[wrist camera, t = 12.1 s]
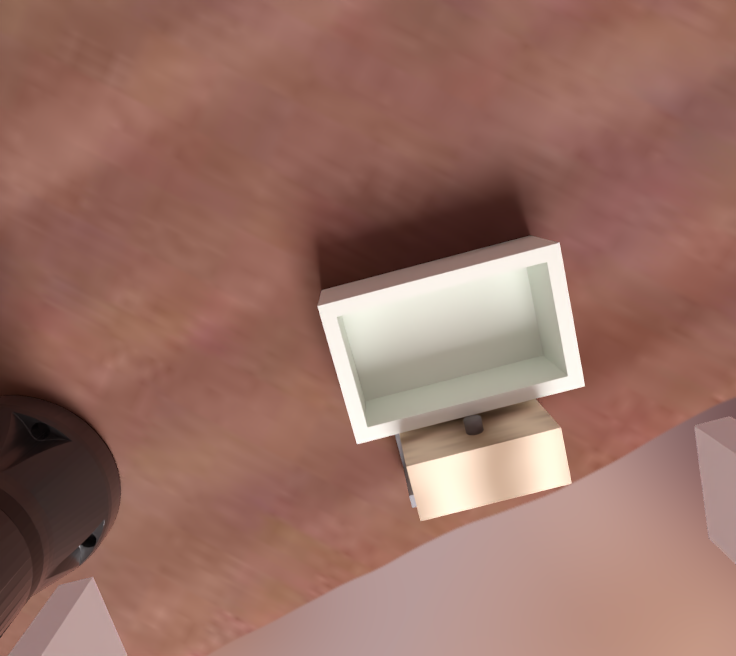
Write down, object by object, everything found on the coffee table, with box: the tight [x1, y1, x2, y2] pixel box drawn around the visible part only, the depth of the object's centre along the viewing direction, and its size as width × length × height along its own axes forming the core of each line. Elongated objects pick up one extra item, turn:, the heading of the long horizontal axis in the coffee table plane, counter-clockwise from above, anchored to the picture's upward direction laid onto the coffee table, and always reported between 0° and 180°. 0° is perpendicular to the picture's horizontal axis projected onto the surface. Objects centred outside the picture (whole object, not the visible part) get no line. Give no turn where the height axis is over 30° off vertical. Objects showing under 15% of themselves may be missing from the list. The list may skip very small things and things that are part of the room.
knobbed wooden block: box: [399, 399, 571, 521], centre depth 41 cm, size 10×5×9 cm, turn 104°
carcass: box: [318, 235, 585, 508], centre depth 42 cm, size 16×16×6 cm
